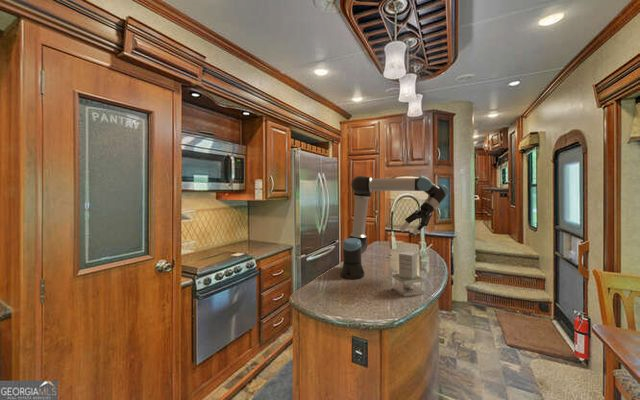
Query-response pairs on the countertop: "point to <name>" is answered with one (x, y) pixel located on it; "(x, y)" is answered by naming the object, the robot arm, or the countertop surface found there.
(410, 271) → the supplement box
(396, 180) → the robot arm
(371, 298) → the countertop surface
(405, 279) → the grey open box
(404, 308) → the countertop surface
